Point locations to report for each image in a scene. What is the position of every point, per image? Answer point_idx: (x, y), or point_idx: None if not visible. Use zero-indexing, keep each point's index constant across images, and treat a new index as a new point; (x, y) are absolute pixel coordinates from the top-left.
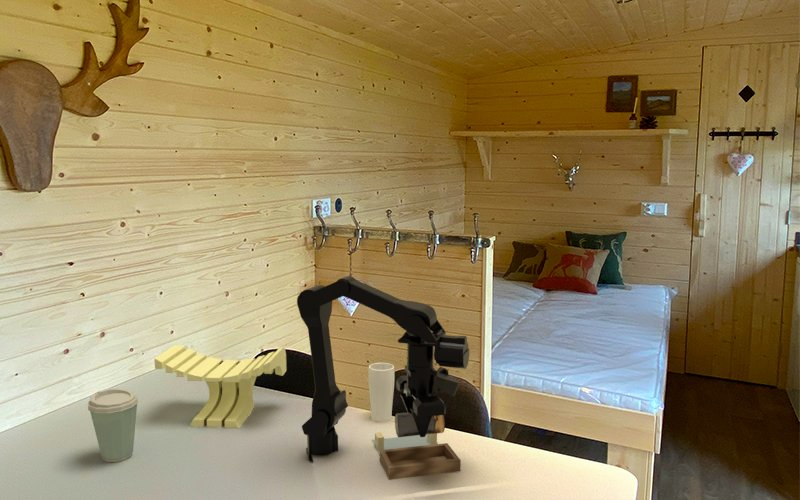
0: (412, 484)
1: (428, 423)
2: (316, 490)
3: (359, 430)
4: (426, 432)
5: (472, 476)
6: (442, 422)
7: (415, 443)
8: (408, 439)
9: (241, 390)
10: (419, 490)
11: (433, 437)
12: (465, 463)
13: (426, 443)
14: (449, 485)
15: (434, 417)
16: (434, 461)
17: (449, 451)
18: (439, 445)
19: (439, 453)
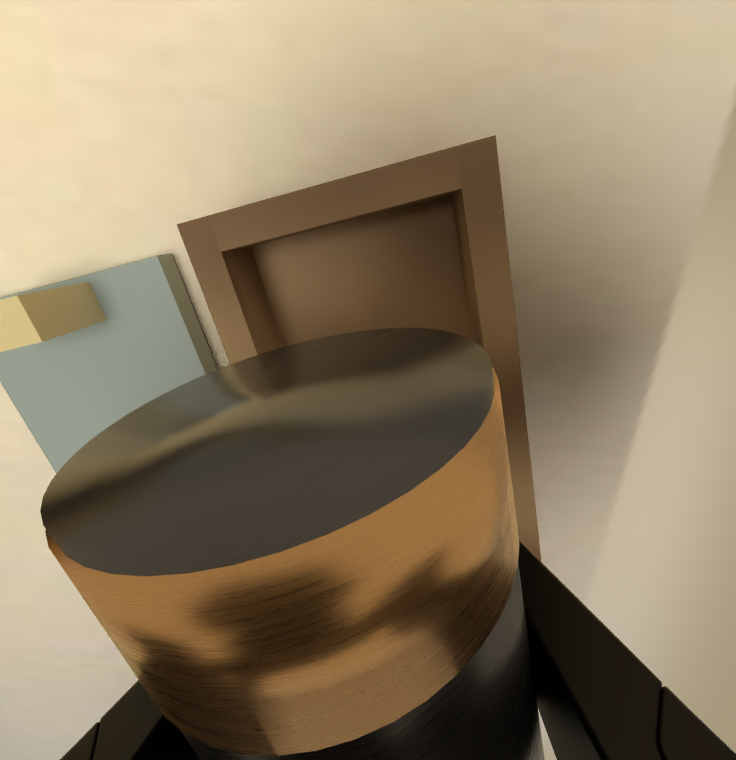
0: (540, 436)
1: (675, 710)
2: None
3: (19, 600)
4: (545, 567)
5: (494, 60)
6: (500, 425)
7: (115, 404)
8: (73, 435)
9: None
10: (610, 410)
11: (64, 314)
12: (298, 96)
13: (98, 344)
14: (590, 244)
15: (484, 642)
16: (493, 352)
17: (327, 221)
18: (227, 292)
19: (255, 283)
